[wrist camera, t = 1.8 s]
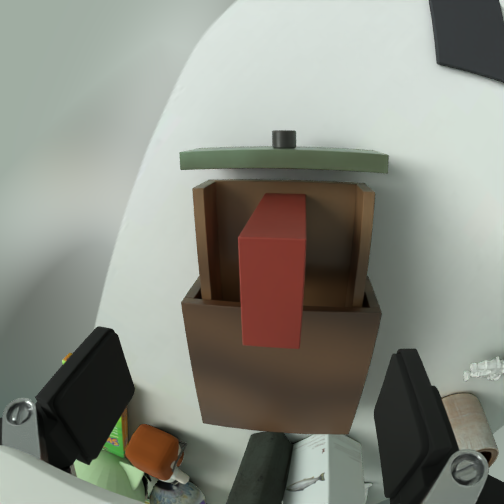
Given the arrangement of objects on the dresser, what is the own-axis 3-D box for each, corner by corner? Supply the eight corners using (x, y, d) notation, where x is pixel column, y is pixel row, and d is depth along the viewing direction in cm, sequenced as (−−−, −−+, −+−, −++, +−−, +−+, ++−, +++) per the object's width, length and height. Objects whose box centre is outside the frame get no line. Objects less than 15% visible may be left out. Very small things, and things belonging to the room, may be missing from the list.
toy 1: (177, 525, 41) (188, 466, 46) (108, 552, 25) (113, 483, 31) (106, 483, 50) (113, 429, 55) (38, 490, 34) (41, 426, 39)
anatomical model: (164, 463, 50) (206, 469, 46) (180, 510, 47) (221, 518, 43) (131, 481, 41) (174, 492, 37) (151, 531, 38) (194, 543, 34)
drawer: (199, 133, 23) (178, 134, 19) (374, 135, 21) (389, 136, 17) (210, 300, 29) (195, 327, 25) (358, 308, 27) (366, 337, 23)
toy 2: (201, 469, 44) (190, 437, 37) (186, 500, 39) (168, 476, 31) (155, 450, 47) (133, 412, 39) (139, 478, 41) (110, 447, 33)
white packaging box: (328, 424, 34) (329, 514, 22) (361, 443, 35) (368, 522, 23) (285, 445, 36) (277, 526, 25) (320, 462, 38) (319, 535, 26)
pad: (423, -24, 15) (425, -26, 15) (495, 1, 14) (498, -1, 13) (436, 64, 19) (439, 62, 18) (508, 84, 17) (512, 84, 17)
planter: (452, 439, 33) (465, 489, 24) (392, 440, 34) (400, 497, 25) (491, 389, 29) (515, 442, 20) (429, 388, 30) (449, 452, 21)
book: (264, 192, 23) (237, 236, 14) (305, 193, 23) (306, 239, 13) (265, 268, 25) (242, 347, 16) (303, 270, 25) (299, 351, 16)
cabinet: (204, 268, 28) (180, 302, 23) (368, 275, 26) (382, 313, 21) (216, 383, 34) (202, 423, 28) (345, 392, 32) (348, 434, 26)
